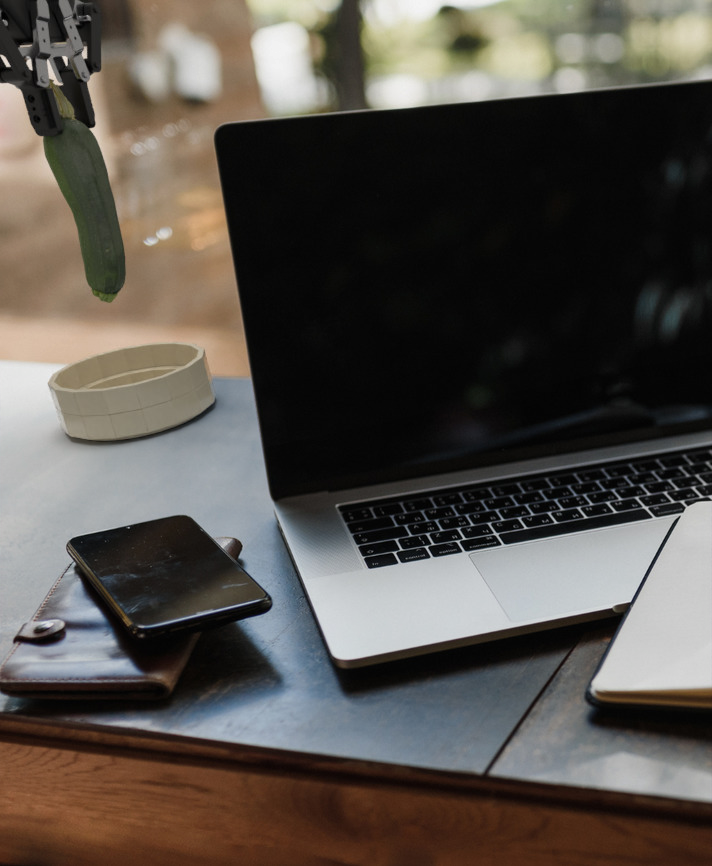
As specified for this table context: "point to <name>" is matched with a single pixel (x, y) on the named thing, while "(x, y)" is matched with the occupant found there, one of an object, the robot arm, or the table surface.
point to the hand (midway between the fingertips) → (66, 131)
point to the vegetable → (88, 199)
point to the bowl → (132, 391)
